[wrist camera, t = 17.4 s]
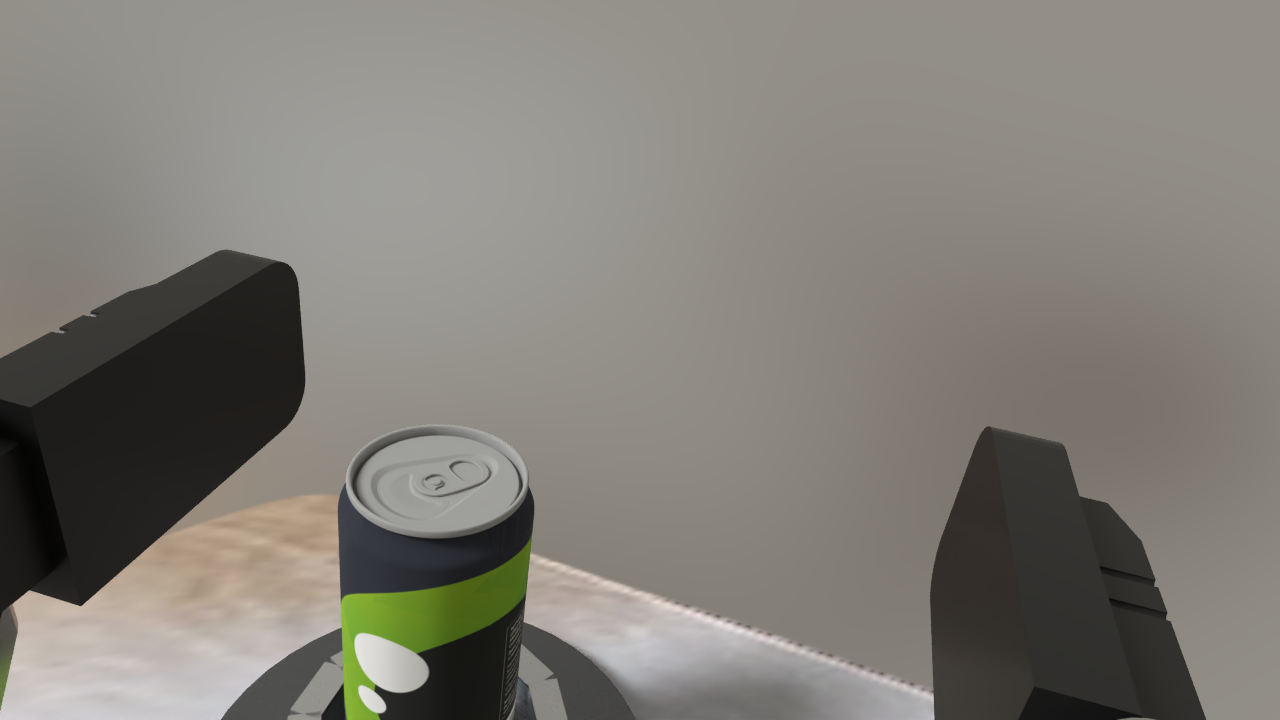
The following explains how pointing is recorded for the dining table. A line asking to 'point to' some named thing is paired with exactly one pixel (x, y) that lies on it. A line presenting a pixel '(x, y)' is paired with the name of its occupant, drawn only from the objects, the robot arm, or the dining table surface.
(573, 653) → the rosette
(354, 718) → the beverage can
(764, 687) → the dining table surface
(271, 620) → the dining table surface
